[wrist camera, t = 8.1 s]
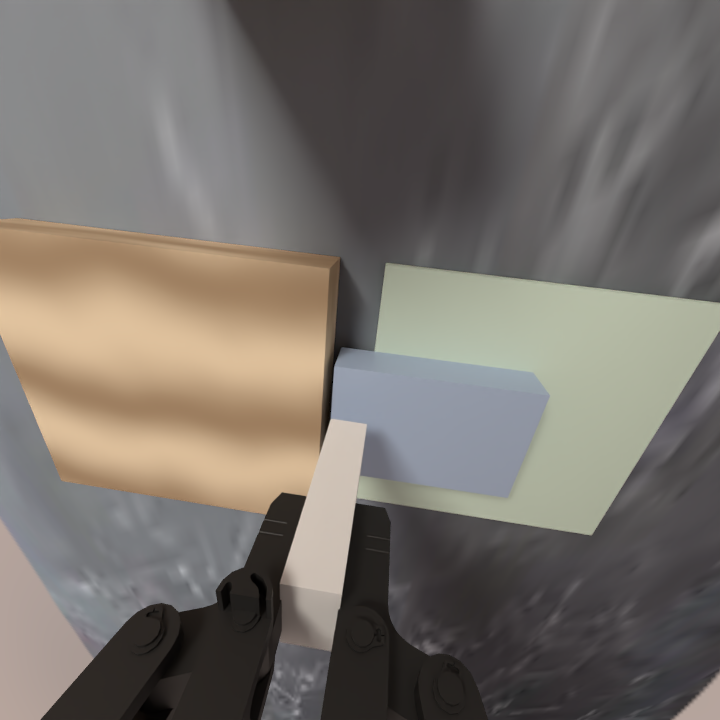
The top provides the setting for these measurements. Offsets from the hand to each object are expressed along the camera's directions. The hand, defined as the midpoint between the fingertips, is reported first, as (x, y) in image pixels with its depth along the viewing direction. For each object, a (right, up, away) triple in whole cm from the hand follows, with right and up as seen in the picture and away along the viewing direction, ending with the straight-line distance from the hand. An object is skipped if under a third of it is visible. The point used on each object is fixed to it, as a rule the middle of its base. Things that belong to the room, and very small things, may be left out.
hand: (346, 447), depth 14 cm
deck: (-8, +3, +4) cm, 10 cm away
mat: (+8, +1, +3) cm, 9 cm away
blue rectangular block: (+4, +1, +3) cm, 5 cm away
